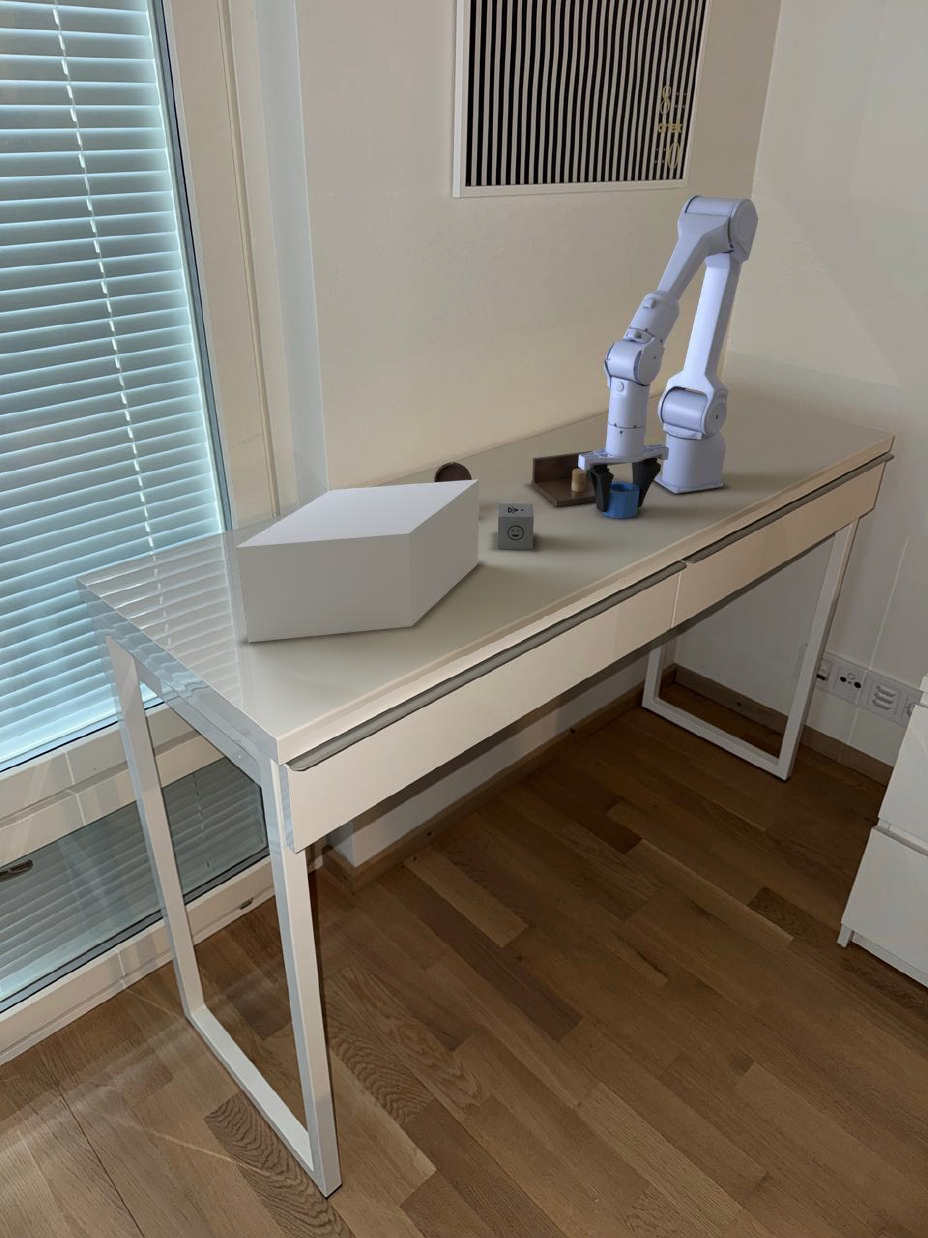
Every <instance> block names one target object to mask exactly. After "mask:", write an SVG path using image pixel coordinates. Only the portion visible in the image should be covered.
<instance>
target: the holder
mask: <svg viewBox="0 0 928 1238" xmlns="http://www.w3.org/2000/svg"><path fill="white" fill-rule="evenodd" d="M593 451H594V450H588V451H580V452H570V453H563V454H562V453H561V454H555V455H554V454H553V455H548V456H540V457H533V458H532V474H531V481H530V483H531V484H530V486H531V487H532V488H533V489H534V490H535V491H537V492H538V493H539V494H540V495H542V496H543V497H544V498H545V499H546V500H548V501H549V502H550V503H551V504H552V505H554V507H556V508H559V507H565V506H573V505H580V504H587V503H593V502H596V498H595V493H594V489H593V486H592V483H591V480H590V478H589V475H588V473H587V471H586V470H585V471H584V470H583V469H581V468H580V467H578V462H579V454H585V453H589V452H593Z"/></svg>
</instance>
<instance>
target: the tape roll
mask: <svg viewBox="0 0 928 1238" xmlns="http://www.w3.org/2000/svg"><path fill="white" fill-rule="evenodd" d="M638 499H639V487H638V486H637V485H635V484H633V482H629V481H623V480H622V481H621V480H615V481H612V483H611V487H610V491H609V500H608V509H607V512H601V513H602V515H604V516H605V517H609V518H614V519H629V518H630V519H631V518H633V517H635V516H636V515H638V509H639V507H638Z"/></svg>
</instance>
